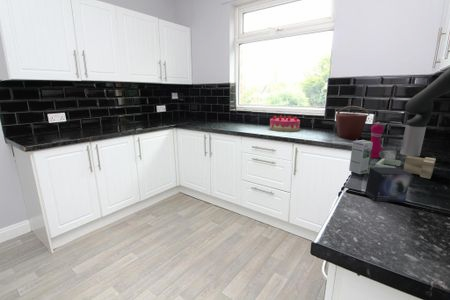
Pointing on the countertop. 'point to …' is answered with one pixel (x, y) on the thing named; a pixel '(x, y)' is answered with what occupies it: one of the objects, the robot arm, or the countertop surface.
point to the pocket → (387, 161)
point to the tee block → (419, 166)
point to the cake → (284, 124)
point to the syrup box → (360, 156)
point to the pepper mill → (376, 139)
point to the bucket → (350, 123)
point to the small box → (387, 184)
